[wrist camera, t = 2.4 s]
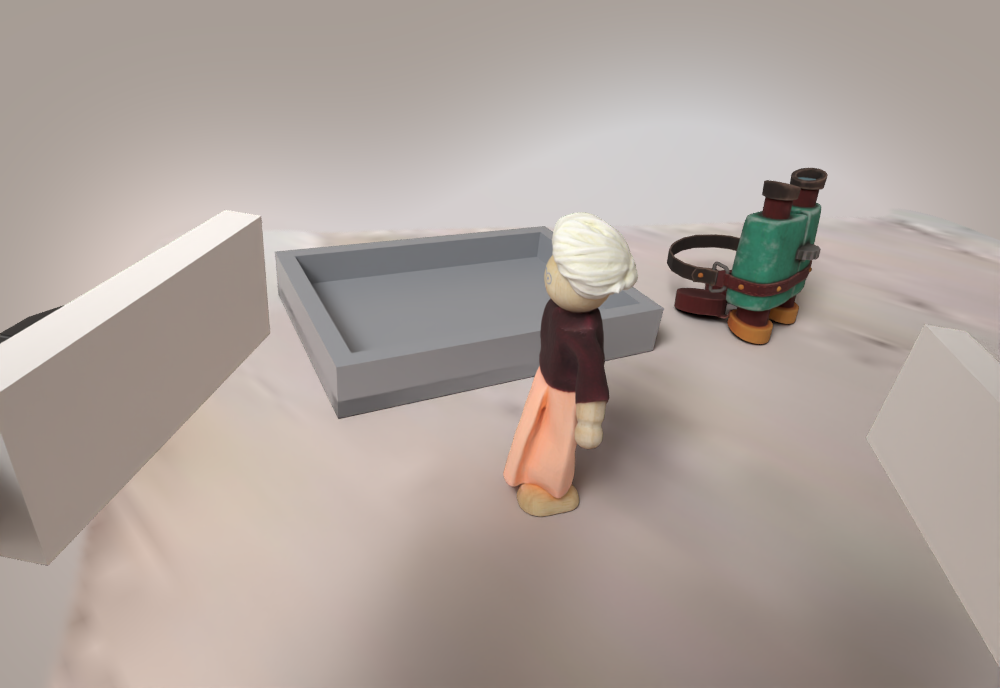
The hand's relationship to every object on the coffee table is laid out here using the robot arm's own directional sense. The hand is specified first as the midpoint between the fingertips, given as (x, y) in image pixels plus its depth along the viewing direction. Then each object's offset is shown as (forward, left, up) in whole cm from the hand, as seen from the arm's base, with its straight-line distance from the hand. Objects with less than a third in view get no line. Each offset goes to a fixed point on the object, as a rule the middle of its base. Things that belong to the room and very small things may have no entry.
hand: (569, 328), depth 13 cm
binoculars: (-28, -19, -14) cm, 37 cm away
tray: (-9, -23, -14) cm, 28 cm away
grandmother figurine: (-6, -8, -14) cm, 17 cm away
